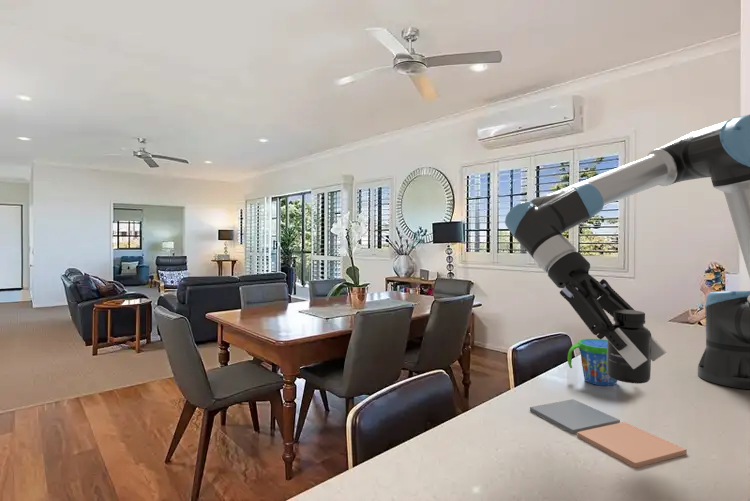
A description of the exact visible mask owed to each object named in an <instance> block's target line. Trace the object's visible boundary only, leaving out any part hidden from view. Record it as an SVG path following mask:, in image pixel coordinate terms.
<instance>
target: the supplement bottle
mask: <svg viewBox="0 0 750 501" xmlns="http://www.w3.org/2000/svg"><path fill="white" fill-rule="evenodd" d="M612 320H613V322H614V323H612V324H613V325H614V327H615V329H616V328H620V330H621V331H622V332H623V333H624V334H625V335H626V336H627V337H628V338H629V339H630V341H631V342H632V343H633V344H634V345H635V346H636V347H637V348H638V349H639V351H640V352H641V353H642V354H643V355H644V356H645V357H646V358H647V359H648V360H647V361H645V362H644V363H642V364H641V365H639V366H638V367H637V368H635V369H633V368H632V367H631V366H630V365H629V364H628V363H627V361H626V360H625V359H624V358H623V357H622V356H621V354H620V353H619V352H618V351H617V350H616V349H615V348H614V346H613V345H612V344H611V343H610V342H609V341H608V339H607V338H606V340H607V374H608V376H609V377H611V378H612V379H615V380H618V381H617V382H622V383H626V384H627V383H628V384H636V385H637V384H640V385H641V384H645V383H648V382H649V381H650V380H651V369H652V366H651V363H652V360H651V336H652V332H651V331H650V330H649V328H647V327H645V326H644V324H646V313H645V312H643V311H641V310H635V309H634V310H614V318H613V317H612ZM615 329H613V330H615Z"/></svg>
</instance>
